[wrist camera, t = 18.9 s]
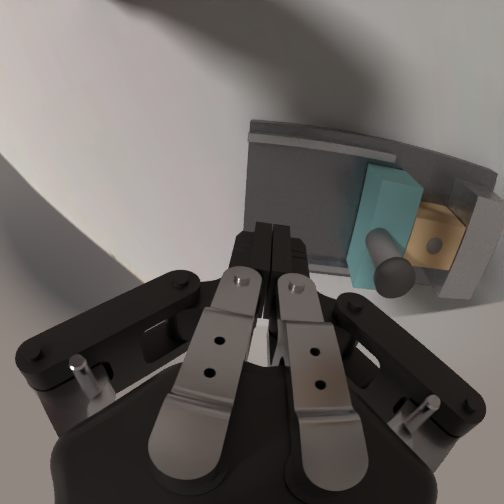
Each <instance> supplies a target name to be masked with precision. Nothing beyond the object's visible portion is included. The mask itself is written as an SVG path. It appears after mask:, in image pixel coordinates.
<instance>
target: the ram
mask: <svg viewBox="0 0 504 504" xmlns="http://www.w3.org/2000/svg"><path fill="white" fill-rule="evenodd" d="M423 190H424V188H423V187H422V186H421V185H420V184H419V183H418V182H417V181H416V180H414V179H413V178H412V177H411V176H410V175H409V174H408V173H407V172H406V171H403V170H399V169H394V168H389V167H384V166H379V165H374V164H369V163H368V168H367V173H366V178H365V183H364V187H363V192H362V197H361V201H360V206H359V210H358V214H357V219H356V223H355V227H354V231H353V235H352V239H351V243H350V247H349V251H348V255H347V258H346V260H347V264H348V269H349V273H350V277H351V281H352V285H353V288H363V289H373V290H377V292H378V293H379V294H380V295H381V296H383V297H385V298H397V297H400V296H403V295H404V294H406V293H407V292H408V291H409V290H410V289H411V288H412V287H413V285H414V283H415V279H416V274H415V271H414V269H413V267H412V265H411V263H410V262H409V261H408V260H407V259H405V258H402V257H403V254H404V251H405V248H406V246H407V243H408V240H409V237H410V234H411V230H412V227H413V224H414V221H415V218H416V214H417V211H418V208H419V204H420V201H421V197H422V193H423Z"/></svg>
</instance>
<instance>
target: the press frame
mask: <svg viewBox="0 0 504 504" xmlns="http://www.w3.org/2000/svg"><path fill="white" fill-rule="evenodd" d="M248 142H249V149H248V164H247V180H246V196H245V212H244V229H243V231H249V232H255V225H256V221H257V222H264V223H271V224H272V229H273V224H279V225H286V226H290V235H291V237H293V238H300V239H301V240H302V241H303V243H304V244H305V245H306V252H307V253H306V254H307V260H308V267H309V272H311V273H320V274H328V275H337V276H346V277H350V273H349V269H348V264H347V260H346V258H347V255H348V251H349V247H350V243H351V239H352V235H353V231H354V227H355V223H356V219H357V214H358V210H359V206H360V201H361V197H362V192H363V187H364V183H365V178H366V173H367V168H368V163H369V164H374V165H379V166H384V167H389V168H394V169H399V170H403V171H406V172H407V173H408V174H409V175H410V176H411V177H412V178H413V179H414V180H416V181H417V182H418V183H419V184H420V185H421V186H422V187H423V188H424V190H423V193H422V197H421V201H423V202H428V203H433V204H437V205H442V206H446V207H447V208H448V209H449V210H450V211H451V212H452V213H453V214H454V215H455V216H456V217H457V218H458V220H459V221H460V222H461V223H462V224H463V225H464V226H465V227H466V229H465V232H464V234H463V237H462V240H461V242H460V245H459V247H458V250H457V252H456V255H455V257H454V260H453V262H452V264H451V267H450V269H449V270H442V269H434V268H426V267H418V266H412V267H413V269H414V271H415V274H416V279H415V283H414V284H421V285H431V286H432V287H433V289H434V291H435V293H436V295H437V297H438V298H451V299H464V300H470V299H471V297H472V295H473V293H474V291H475V289H476V287H477V286H478V284H479V282H480V280H481V277H482V275H483V273H484V271H485V269H486V267H487V265H488V263H489V260H490V258H491V256H492V254H493V251H494V249H495V247H496V244H497V242H498V240H499V237H500V235H501V232H502V229H503V227H504V200H503V199H501V198H500V197H499V196H498V195H496V194H495V193H494V192H493V189H494V185H495V182H496V178H497V175H498V174H497V173H496V172H494V171H493V170H491V169H488V168H485V167H483V166H480V165H477V164H474V163H471V162H468V161H465V160H462V159H459V158H455V157H452V156H449V155H446V154H442V153H439V152H435V151H432V150H428V149H424V148H421V147H417V146H413V145H409V144H405V143H401V142H397V141H392V140H388V139H383V138H379V137H374V136H369V135H364V134H359V133H353V132H348V131H342V130H336V129H330V128H324V127H317V126H310V125H302V124H294V123H285V122H276V121H265V120H254V119H252V120H251V121H250V132H249V133H248Z"/></svg>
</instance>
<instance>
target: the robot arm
mask: <svg viewBox="0 0 504 504" xmlns="http://www.w3.org/2000/svg"><path fill="white" fill-rule="evenodd" d="M306 253H307V252H306V245H305V244H304V243H303V241H302V240H301V239H300V238H293V237H291V235H290V226H286V225H279V224H273V229H272V224H271V223H264V222H257V221H256V225H255V232H249V231H242V232H241V233H239V234H238V235H237V236H236V240H235V244H234V248H233V252H232V256H231V260H230V264H229V268H228V269H227V270H226V271H225V272H224V273H223V275H222V278H220V279H217V280H213V281H205V282H200V279H199V277H198V276H197V275H196V274H194V273H193V272H190V271H187V270H174V271H171V272H168V273H166V274H164V275H162V276H160V277H157V278H155V279H153V280H151V281H149V282H147V283H145V284H143V285H140V286H138V287H136V288H134V289H132V290H130V291H128V292H125V293H123V294H121V295H119V296H117V297H115V298H113V299H111V300H109V301H106V302H104V303H102V304H100V305H98V306H96V307H94V308H92V309H90V310H88V311H85V312H84V313H81V314H79V315H77V316H75V317H73V318H71V319H69V320H67V321H65V322H63V323H61V324H58V325H56V326H54V327H52V328H50V329H48V330H46V331H44V332H42V333H40V334H38V335H36V336H34V337H32V338H30V339H28V340H26V341H25V342H23V343H22V344H21V345H20V347H19V348H18V350H17V352H16V357H15V361H16V365H17V367H18V368H19V370H20V371H21V373H22V374H23V375H24V377H25V378H26V380H27V382H28V384H29V386H30V387H31V388H32V390H33V391H34V392H35V394H36V395H37V396H38V397H39V399H40V400H41V403H42V405H43V407H44V409H45V411H46V413H47V415H48V417H49V419H50V421H51V423H52V425H53V427H54V429H55V431H56V433H57V435H58V436H59V439H58V441H57V442H56V444H55V446H54V448H53V451H52V454H51V460H50V463H51V464H50V469H51V475H52V480H53V485H54V492H55V493H54V494H55V504H436V500H437V492H438V490H437V483H436V479H435V476H434V474H433V473H434V472H435V471H436V470H437V468H438V467H439V466H440V464H441V463H442V462H443V460H444V458H445V457H446V456H447V455H448V453H449V452H450V450H451V449H452V448H453V446H454V445H455V443H456V442H457V441H458V440H459V439H460V438H462V437H463V436H464V435H465V434H466V433H468V432H469V431H470V430H471V429H473V428H474V427H475V426H476V425H478V424H479V423H480V422H481V421H482V420H483V419H484V417H485V414H486V405H485V402H484V400H483V398H482V397H481V395H480V394H479V393H478V392H477V391H475V390H474V389H473V388H472V387H471V386H470V385H469V384H468V383H466V382H465V381H464V380H463V379H462V378H461V377H460V376H459V375H457V374H456V373H455V372H454V371H453V370H452V369H450V368H449V367H448V366H447V365H446V364H445V363H443V362H442V361H441V360H440V359H439V358H438V357H437V356H435V355H434V354H433V353H432V352H431V351H429V350H428V349H427V348H426V347H425V346H424V345H422V344H421V343H420V342H419V341H418V340H417V339H415V338H414V337H413V336H412V335H410V334H409V333H408V332H407V331H406V330H405V329H403V328H402V327H401V326H399V324H397V323H396V322H395V321H394V320H392V319H391V318H390V317H389V316H388V315H386V314H385V313H384V312H383V311H381V310H380V309H379V308H378V307H377V306H375V305H374V304H373V303H372V302H370V301H369V300H368V299H367V298H365V297H364V296H362V295H360V294H357V293H351V292H347V293H343V294H341V295H339V296H338V298H337V300H336V299H333V298H330V297H327V296H325V295H323V294H321V293H319V292H318V291H317V290H316V286H315V284H314V282H313V281H312V280H311V279H310V276H309V267H308V260H307V254H306ZM263 306H264V312H263ZM262 312H263V318H264V319H269V326H268V330H267V356H268V357H267V359H268V367H262V366H258V365H255V364H252V363H249V362H247V359H248V355H249V350H250V345H251V341H252V336H253V331H254V328H255V327H256V323H257V318H261V317H262ZM164 320H165V321H164ZM162 321H164V322H163V323H161V324H159V325H157V326H155V325H156V324H158V323H160V322H162ZM153 326H155V327H154V328H152V329H150V330H148V331H146V330H147V329H149V328H151V327H153ZM145 331H146V332H145ZM358 342H360V343H361V344H362V345H363V346H364V347H365V348H366V349H367V350H369V352H370V353H372V354H373V355H374V356H375V357H376V358H377V359H378V361H379V363H380V369H379V368H378V367H377V366H376V365H375V364H374V363H373V362H372V361H371V360H370V359H369V358H367V357H366V356H365V355H364V354H363V353H362V352H361V351H360V350H359V349H358V348H356V346H357V344H358ZM186 351H187V353H186V355H185V358H184V361H183V362H182V363H178V364H175V365H172V366H170V367H168V368H166V369H164V370H163V371H161V372H159V373H158V374H156V375H155V376H153V377H152V378H150V379H149V380H147V381H146V382H144V383H142V384H141V385H139V386H138V387H136V388H135V389H133V390H132V391H130V392H129V393H127V394H126V395H124V396H123V397H121V398H119V399H118V400H116V401H115V397H116V393H118V392H120V391H122V390H123V389H125V388H127V387H128V386H130V385H132V384H133V383H135V382H137V381H139V380H140V379H142V378H144V377H145V376H147V375H149V374H150V373H152V372H153V371H155V370H157V369H159V368H160V367H162V366H163V365H165V364H167V363H168V362H170V361H172V360H173V359H175V358H176V357H178V356H180V355H181V354H183V353H184V352H186Z"/></svg>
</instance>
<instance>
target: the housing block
mask: <svg viewBox="0 0 504 504" xmlns="http://www.w3.org/2000/svg"><path fill="white" fill-rule="evenodd" d="M465 229H466V227H465V226H464V225H463V224H462V223H461V222H460V221H459V220H458V218H457V217H456V216H455V215H454V214H453V213H452V212H451V211H450V210H449V209H448V208H447V207H446V206H442V205H437V204H433V203H428V202H423V201H420V204H419V208H418V211H417V214H416V218H415V221H414V224H413V227H412V230H411V234H410V237H409V240H408V243H407V246H406V248H405V251H404V254H403V257H402V258H405V259H407V260H408V261H409V262H410V263H411V265H412V266H418V267H426V268H434V269H442V270H449V269H450V267H451V264H452V262H453V260H454V257H455V255H456V252H457V250H458V247H459V245H460V242H461V240H462V237H463V234H464V232H465Z"/></svg>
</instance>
